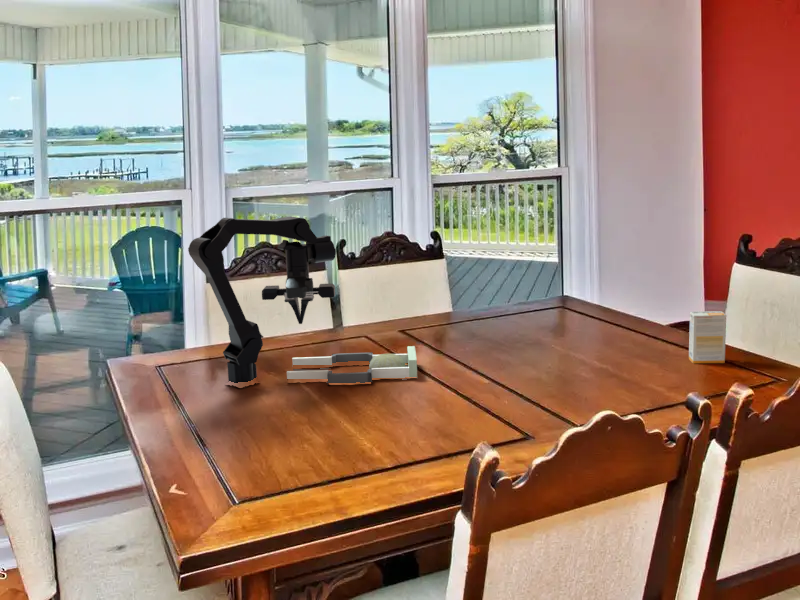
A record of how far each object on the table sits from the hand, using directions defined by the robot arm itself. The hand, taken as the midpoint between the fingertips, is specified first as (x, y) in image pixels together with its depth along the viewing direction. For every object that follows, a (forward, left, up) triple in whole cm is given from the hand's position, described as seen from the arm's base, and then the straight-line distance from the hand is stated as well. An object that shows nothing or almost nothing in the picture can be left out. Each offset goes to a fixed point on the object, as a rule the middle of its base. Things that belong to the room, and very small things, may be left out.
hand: (300, 323), depth 219 cm
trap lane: (+6, -12, -13) cm, 19 cm away
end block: (+17, -24, -13) cm, 32 cm away
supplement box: (+71, -80, -13) cm, 107 cm away
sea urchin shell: (+13, -19, -13) cm, 26 cm away
